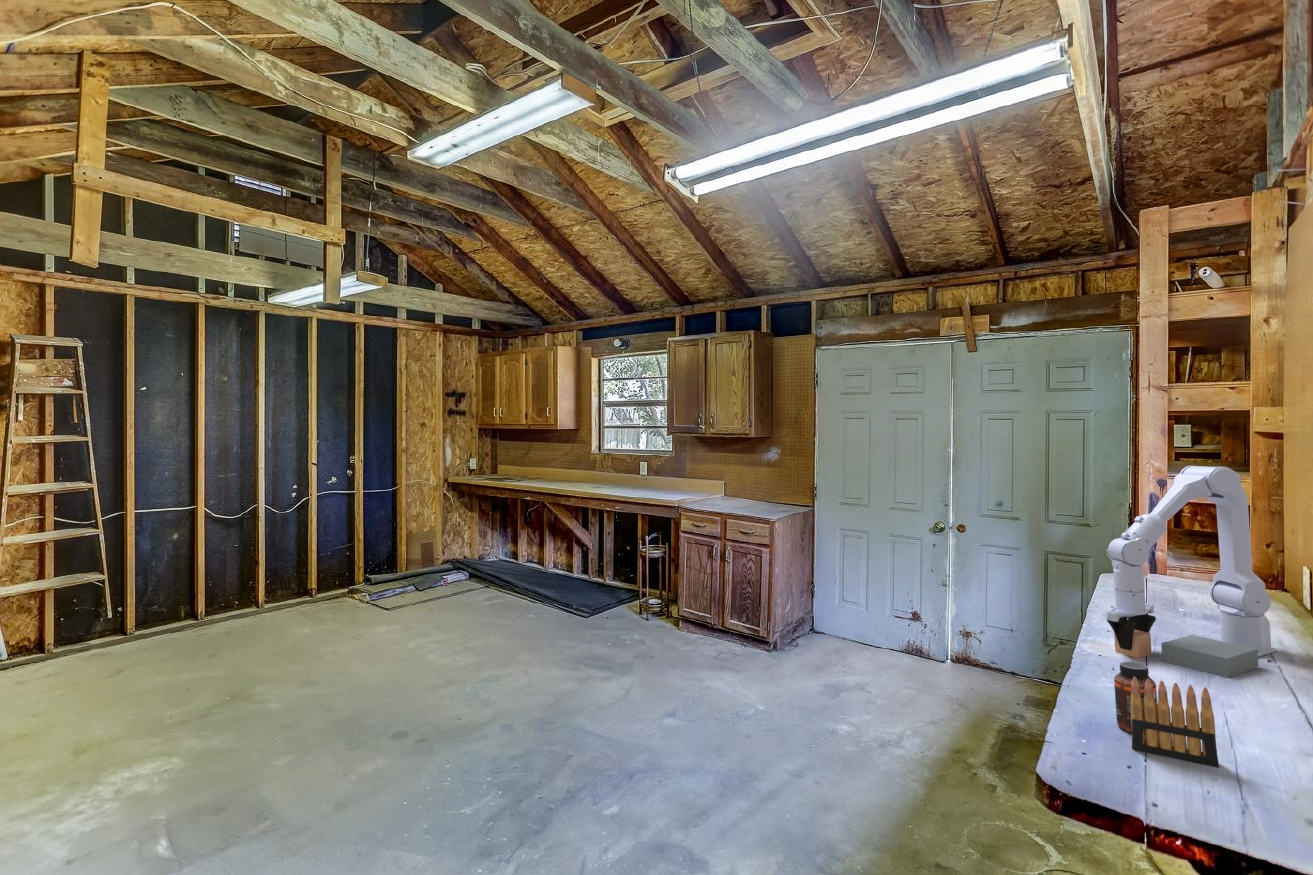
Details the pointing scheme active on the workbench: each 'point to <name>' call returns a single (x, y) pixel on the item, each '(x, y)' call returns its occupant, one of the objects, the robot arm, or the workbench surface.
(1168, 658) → the slate plinth
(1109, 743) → the workbench surface
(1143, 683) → the supplement bottle
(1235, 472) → the robot arm
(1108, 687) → the workbench surface
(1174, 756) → the ammunition clip
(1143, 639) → the terracotta cube
